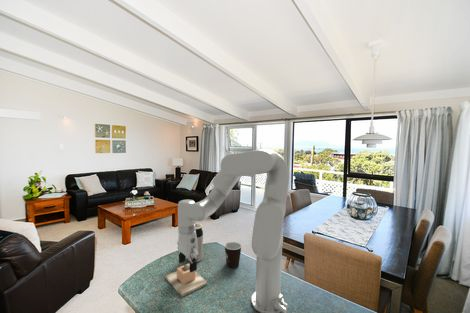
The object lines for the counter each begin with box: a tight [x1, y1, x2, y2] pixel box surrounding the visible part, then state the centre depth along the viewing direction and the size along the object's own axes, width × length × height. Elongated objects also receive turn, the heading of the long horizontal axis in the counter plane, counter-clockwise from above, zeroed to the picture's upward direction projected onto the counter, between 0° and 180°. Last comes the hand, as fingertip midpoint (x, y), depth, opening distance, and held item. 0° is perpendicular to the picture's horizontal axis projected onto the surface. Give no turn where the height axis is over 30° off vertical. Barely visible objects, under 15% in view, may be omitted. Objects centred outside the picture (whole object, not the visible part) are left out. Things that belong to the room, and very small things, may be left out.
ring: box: [176, 262, 197, 284], centre depth 94 cm, size 6×6×4 cm
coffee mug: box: [224, 241, 242, 269], centre depth 110 cm, size 12×9×10 cm
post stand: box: [165, 263, 208, 298], centre depth 94 cm, size 16×12×7 cm
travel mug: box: [186, 223, 204, 263], centre depth 113 cm, size 8×8×18 cm
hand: (187, 266), depth 94 cm, fingers open, 9 cm apart
